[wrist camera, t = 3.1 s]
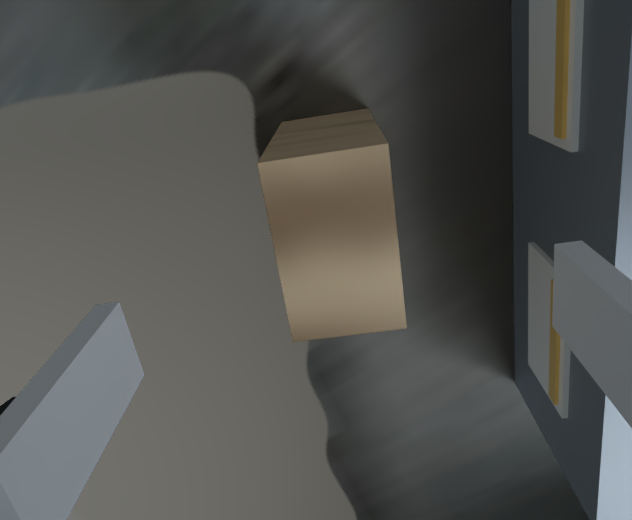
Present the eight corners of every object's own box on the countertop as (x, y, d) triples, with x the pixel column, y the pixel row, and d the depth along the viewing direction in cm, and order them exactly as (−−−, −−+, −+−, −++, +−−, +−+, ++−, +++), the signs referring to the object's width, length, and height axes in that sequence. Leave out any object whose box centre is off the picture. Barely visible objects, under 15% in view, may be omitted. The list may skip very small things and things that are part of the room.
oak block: (382, 238, 32) (407, 328, 22) (304, 249, 33) (292, 342, 23) (368, 108, 29) (388, 143, 19) (281, 121, 30) (257, 163, 20)
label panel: (558, 377, 36) (659, 525, 25) (507, 383, 36) (585, 532, 25) (574, -143, 25) (772, -292, 14) (499, -128, 25) (634, -264, 14)
